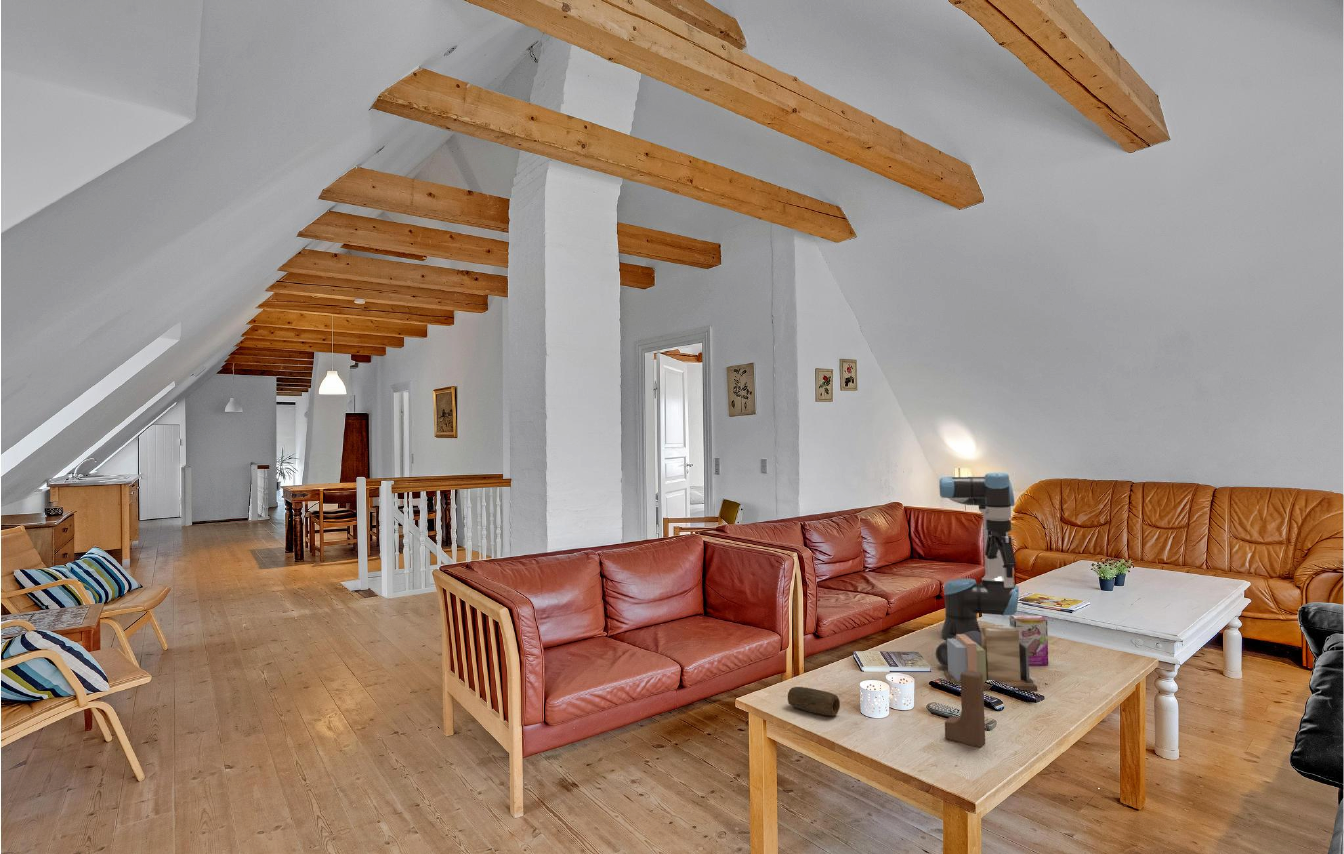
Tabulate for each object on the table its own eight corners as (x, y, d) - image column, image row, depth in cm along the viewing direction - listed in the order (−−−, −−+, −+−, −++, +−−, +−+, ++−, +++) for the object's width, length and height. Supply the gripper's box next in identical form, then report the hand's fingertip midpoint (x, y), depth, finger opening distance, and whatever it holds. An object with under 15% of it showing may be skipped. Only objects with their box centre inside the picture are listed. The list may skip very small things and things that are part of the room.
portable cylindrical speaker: (842, 713, 195) (842, 690, 195) (833, 721, 189) (832, 697, 190) (796, 702, 204) (795, 680, 204) (785, 709, 198) (784, 687, 199)
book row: (948, 671, 224) (946, 634, 224) (975, 671, 223) (974, 634, 223) (958, 682, 213) (957, 643, 213) (988, 683, 212) (986, 643, 212)
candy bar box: (1016, 665, 233) (1014, 618, 233) (1010, 661, 238) (1008, 614, 238) (1049, 666, 232) (1047, 618, 232) (1043, 661, 237) (1041, 614, 237)
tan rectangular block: (983, 675, 219) (981, 626, 220) (1014, 675, 218) (1012, 626, 219) (988, 680, 215) (986, 630, 215) (1020, 680, 214) (1018, 630, 214)
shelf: (944, 675, 225) (944, 670, 225) (1018, 675, 223) (1018, 671, 223) (958, 689, 211) (957, 685, 211) (1037, 690, 209) (1037, 686, 209)
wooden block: (944, 738, 176) (942, 670, 177) (950, 733, 180) (947, 665, 180) (980, 748, 171) (978, 677, 171) (985, 741, 174) (983, 672, 175)
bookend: (1016, 674, 220) (1015, 640, 220) (1022, 674, 220) (1021, 640, 220) (1027, 682, 212) (1025, 647, 212) (1033, 682, 212) (1032, 647, 212)
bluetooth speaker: (961, 674, 225) (959, 644, 225) (934, 668, 232) (933, 639, 232) (990, 659, 240) (989, 631, 240) (964, 654, 247) (963, 626, 247)
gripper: (973, 514, 236) (976, 574, 236) (1001, 524, 212) (1003, 591, 211) (995, 514, 236) (998, 574, 235) (1025, 524, 211) (1028, 591, 211)
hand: (1000, 582), depth 223 cm, fingers open, 13 cm apart
